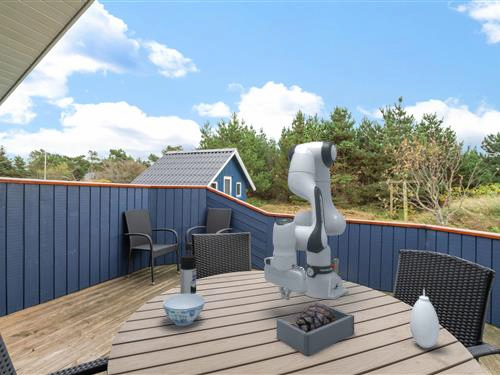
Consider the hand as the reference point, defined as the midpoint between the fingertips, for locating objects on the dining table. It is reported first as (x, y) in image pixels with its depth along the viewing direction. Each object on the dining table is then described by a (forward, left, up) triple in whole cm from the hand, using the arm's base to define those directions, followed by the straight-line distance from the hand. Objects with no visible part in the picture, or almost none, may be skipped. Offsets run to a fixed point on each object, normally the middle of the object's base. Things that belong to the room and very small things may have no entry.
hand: (285, 298), depth 110 cm
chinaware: (+32, -20, -8) cm, 38 cm away
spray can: (+23, -36, -8) cm, 43 cm away
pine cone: (+2, +16, -8) cm, 18 cm away
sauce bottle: (-21, +40, -8) cm, 46 cm away
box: (+1, +15, -8) cm, 17 cm away
